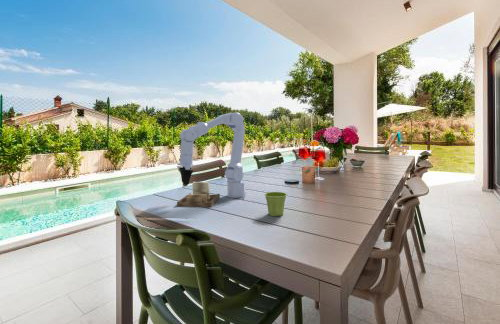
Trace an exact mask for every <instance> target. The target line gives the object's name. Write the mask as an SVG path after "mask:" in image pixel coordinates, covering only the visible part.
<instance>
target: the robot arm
mask: <svg viewBox="0 0 500 324" xmlns="http://www.w3.org/2000/svg"><path fill="white" fill-rule="evenodd" d="M221 124H224V125H226V126H227V127H229V128H230V129H231V130H232V131H233V138H232V147H231V152H230V153H231V154H230V161H229V163H228V164H227V167H226V169H225V171H224V176H225V178H226V182H227V186H226V187H227V198H234V199H235V198H242V200H245V198H246V195H247V194H246V193H247V192H246V181H243V179H244V172H243V170H244V169H243V165H242V155H243V149H244V148H243V147H244V142H245V133H246V128H245V124H244V116H242V114H241V113H239V112H238V111H237V112H228V113H225V114H221V115H219V116H217V117H215V118H213V119H211V120H209V121H207V122H203V121H198V122H196V124H194V125H192V126H191V125H190V126H188V129H187V128H185V129H182V130H181V132H180V133H179V138H180V140H181V141H180V154H179V155H180V157H179V158H180V160H179V163H177V164H176V165H177V166H180V167H179V168H178V169H179V172H180V175H181V177H180V178H181V182H182V183H183V185H185V186H186V185H187V186H188V185H189V184H190V180H191V178H192V177H191V176H192V174H193V172H194V169H192V167H193V166H194V164H193V161H194V160H193V159H194V141H195V140H196V139H197V138H199V137H201V136H204V135H206V134H207V133H209V130H210V129H212V128H214V127H217V126H219V125H221Z"/></svg>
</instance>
